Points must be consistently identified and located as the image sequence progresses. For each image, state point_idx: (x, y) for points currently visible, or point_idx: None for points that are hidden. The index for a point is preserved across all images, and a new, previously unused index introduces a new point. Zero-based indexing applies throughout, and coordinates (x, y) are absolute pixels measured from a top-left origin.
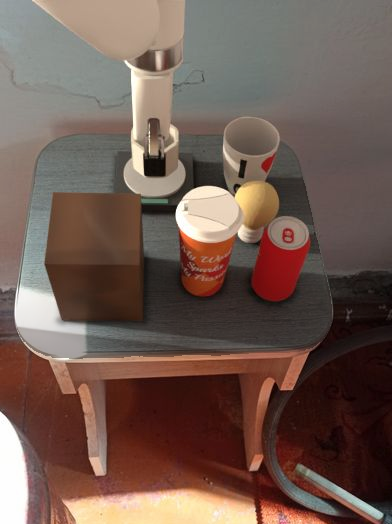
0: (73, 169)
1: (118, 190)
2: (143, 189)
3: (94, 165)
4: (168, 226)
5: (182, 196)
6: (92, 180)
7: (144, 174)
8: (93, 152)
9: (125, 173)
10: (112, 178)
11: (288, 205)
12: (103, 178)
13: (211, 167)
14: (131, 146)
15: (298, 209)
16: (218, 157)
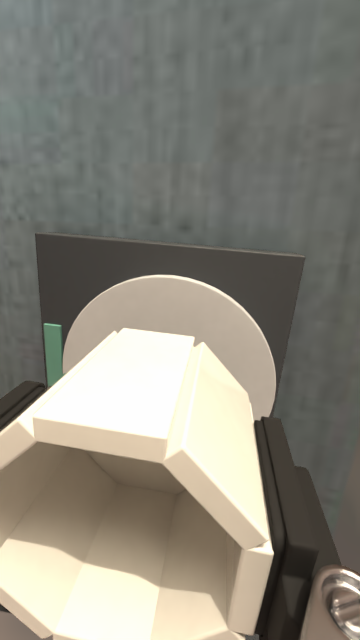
0: (259, 52)
1: (95, 249)
2: (88, 339)
3: (271, 154)
4: (15, 377)
5: None
6: (191, 146)
7: (21, 385)
8: (349, 148)
9: (163, 283)
10: (196, 227)
11: None
12: (198, 192)
13: None
14: (62, 387)
15: None
16: None
